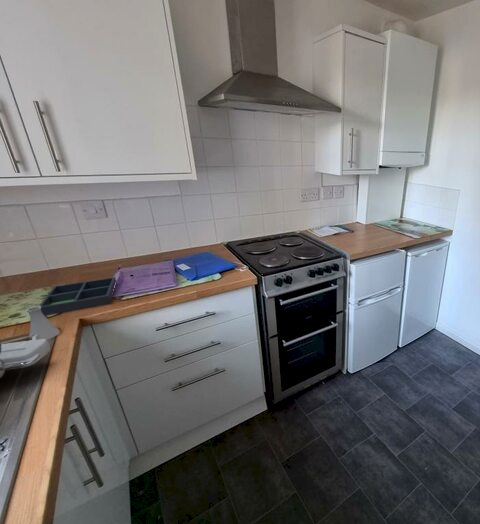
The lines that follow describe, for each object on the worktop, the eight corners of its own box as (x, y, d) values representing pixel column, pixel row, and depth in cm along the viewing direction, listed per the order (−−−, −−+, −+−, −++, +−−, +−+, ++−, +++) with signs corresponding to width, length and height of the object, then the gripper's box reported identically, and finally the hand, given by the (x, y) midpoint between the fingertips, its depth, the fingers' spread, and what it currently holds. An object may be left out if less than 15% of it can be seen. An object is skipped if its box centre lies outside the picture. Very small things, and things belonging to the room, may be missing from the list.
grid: (40, 317, 103) (37, 308, 102) (57, 294, 119) (54, 286, 118) (110, 304, 113) (108, 295, 111) (117, 284, 128) (115, 277, 127)
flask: (54, 327, 98) (43, 300, 94) (65, 333, 95) (54, 305, 91) (24, 339, 92) (11, 310, 88) (35, 346, 89) (22, 317, 85)
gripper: (26, 354, 72) (58, 323, 84) (-92, 370, 66) (-39, 335, 78) (35, 374, 74) (65, 342, 86) (-78, 393, 68) (-29, 355, 80)
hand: (15, 339), depth 82 cm, fingers open, 8 cm apart
